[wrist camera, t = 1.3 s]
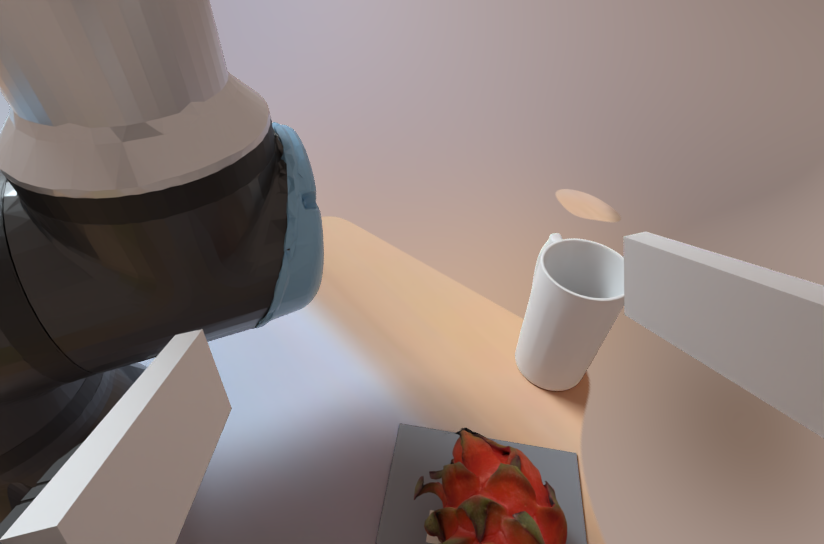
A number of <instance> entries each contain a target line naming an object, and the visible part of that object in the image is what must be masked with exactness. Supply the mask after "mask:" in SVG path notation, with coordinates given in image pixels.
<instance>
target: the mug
mask: <svg viewBox="0 0 824 544" xmlns="http://www.w3.org/2000/svg"><path fill="white" fill-rule="evenodd" d="M623 306H624V257H623V256H621V255H620V254H619V253H617V252H616V251H614V250H613V249H611V248H609V247H607V246H605V245H602V244H600V243H597V242H593V241H589V240H584V239H562V237H561V235H560V234H558V233H554V234H551V235H550V237H549V240H548V241H547V242H546V243H545V245H544V246H543V248H542V249H541V251H540V254H539V256H538V259H537V263H536V267H535V271H534V277H533V285H532V291H531V295H530V299H529V303H528V306H527V310H526V313H525V317H524V321H523V324H522V328H521V332H520V336H519V340H518V344H517V348H516V352H515V360H516V364H517V366H518V369H519V370H520V372H521V373H522V374H523V376H524V377H525V378H526V379H527V380H529V381H530V382H531V383H533V384H534V385H536V386H538V387H540V388H543V389H546V390H551V391H564V390H568V389H570V388H572V387H574V386H576V385H577V384H578V383H579V382H580V380H581V379H582V377H583V376H584V374H585V372H586V371H587V369H588V367H589V366H590V364H591V362H592V361H593V359H594V357H595V355H596V354H597V352H598V350H599V348H600V346H601V345H602V343H603V341H604V340H605V338H606V336H607V334H608V333H609V331H610V329H611V327H612V325H613V324H614V322H615V320H616V319H617V317H618V315H619V313H620V312H621V310H622V308H623Z"/></svg>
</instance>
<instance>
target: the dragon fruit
mask: <svg viewBox="0 0 824 544" xmlns="http://www.w3.org/2000/svg"><path fill="white" fill-rule="evenodd" d="M449 433H450V432H449ZM449 433H448V434H449ZM445 434H446V433H445ZM450 434H451V433H450ZM455 434H458V435H460V437H459V438H458V439H457V441H456V443H455V445H454V448H453V452H452V454H453V457H454V459H452V460H451V463H450V464H448V465H444V466H443V470H440V471H429V475H430V478H431V479H435V480H437V479H440V478H442V484H441V483H439V482H430V483H427V484H425V485H423V483H424V476H421V477H420V478H419V480H418V482H417V484H416V487H415V492H414V500H415V499H416V498H417V497H418V496H420V495H422V494H424V493H428V492H429V493H434V494H436V495H437V496H438V497H439V498H440V499H441V500H442V503H443V509H438V510H435V511H433V512H432V513H431V514H430V515H429V517H428V518H427V519H426V520H425V522H424V528H425V531H426V532H427V534H428V535H430V536H433V537H435V536H437V537H438V540H439V541H440V542H441V544H566V540H567V521H566V518H565V515H564V512H563V511H562V509H561V507H560V505H559V504H558V501H557V499H556V495H555V490H554V489H553V488H552V487H551V486H550V485H549V483H548V482H547V481H545V483H546V484H545V485H543V483H542V479H541V475H540V472H539V470H538V469H537V468H536V467H535V466H534V465H533V464H532V462H531V461H530V460H529V459H528V457H527V456H526V455H525V454H524V453H523V452H522V451H520V450H518V449H516V448H513V447H511V446H503V445H500V444H498V443H496V442H495V441H493V440H491V439H488V438H486V437H484V436H482V435H480V434H478V433H476V432H472V431H471V430H469V429H467V428H462V430H461V431H459V432H457V433H455Z"/></svg>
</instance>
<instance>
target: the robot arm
mask: <svg viewBox="0 0 824 544" xmlns="http://www.w3.org/2000/svg"><path fill="white" fill-rule="evenodd" d="M0 91H1V93H2V94H3V96H4V97H5V99H6V101H7V102H8V104H9V105H10V111H9V114H8V116H7V118H6V120H5V122H4V125H3V127H2V129H1V131H0V544H176V542H177V539H178V537H179V535H180V532H181V530H182V527H183V525H184V523H185V520H186V518H187V515H188V513H189V510H190V508H191V506H192V503H193V501H194V498H195V496H196V493H197V491H198V489H199V486H200V484H201V481H202V479H203V477H204V474H205V472H206V469H207V467H208V464H209V462H210V460H211V457H212V455H213V452H214V450H215V448H216V445H217V443H218V440H219V438H220V435H221V433H222V431H223V428H224V426H225V423H226V421H227V418H228V416H229V414H230V411H231V409H232V408H231V405H230V402H229V400H228V397H227V394H226V392H225V389H224V386H223V383H222V381H221V378H220V375H219V373H218V370H217V367H216V365H215V362H214V359H213V356H212V354H211V351H210V348H209V346H208V343H207V342H208V341H211V340H215V339H218V338H222V337H225V336H228V335H232V334H235V333H238V332H242V331H245V330H249V329H254V328H259V327H262V326H264V325H265V324H267V323H268V322H269V321H271V320H273V319H276V318H279V317H281V316H284V315H286V314H289V313H292V312H294V311H297V310H300V309H302V308H303V307H305V306H306V305H308V304H309V303H310V302H311V301H312V300H313V298H314V297H315V295H316V294H317V292H318V290H319V287H320V284H321V280H322V274H323V264H324V245H323V229H322V220H321V214H320V210H319V208H318V206H317V204H316V187H315V180H314V176H313V172H312V168H311V165H310V162H309V159H308V156H307V153H306V150H305V148H304V146H303V144H302V142H301V140H300V138H299V136H298V135H297V133H296V132H295V131H294V130H293V129H292V128H290V127H288V126H286V125H280V124H278V123H275V122H273V123H272V121H271V117H270V112H269V108H268V105H267V103H266V101H265V100H264V98H262V97H261V96H260V95H259V94H258V93H257V92H256V91H254V90H253V89H251V88H250V87H249V86H247V85H246V84H244V83H243V82H241V81H240V80H238V79H237V78H236V77H234V76H233V75H231V74H230V73H229V72H228V71H227V67H226V63H225V59H224V55H223V51H222V48H221V44H220V40H219V36H218V32H217V28H216V24H215V21H214V17H213V13H212V9H211V5H210V2H209V0H0ZM623 240H624V306H625V315H626V316H628V317H629V318H631V319H632V320H634V321H636V322H637V323H639V324H641V325H642V326H644V327H645V328H647V329H649V330H650V331H652V332H653V333H655V334H657V335H658V336H660V337H662V338H663V339H665V340H666V341H668V342H669V343H671V344H673V345H674V346H676V347H678V348H679V349H681V350H682V351H684V352H686V353H687V354H689V355H690V356H692V357H694V358H695V359H697V360H698V361H700V362H702V363H703V364H705V365H707V366H708V367H710V368H711V369H713V370H715V371H716V372H718V373H720V374H721V375H723V376H724V377H726V378H727V379H729V380H731V381H732V382H734V383H736V384H737V385H739V386H740V387H742V388H744V389H745V390H747V391H749V392H750V393H752V394H753V395H755V396H757V397H758V398H760V399H761V400H763V401H765V402H766V403H768V404H769V405H771V406H773V407H774V408H776V409H778V410H779V411H781V412H782V413H784V414H786V415H787V416H789V417H790V418H792V419H794V420H795V421H797V422H799V423H800V424H802V425H803V426H805V427H806V428H808V429H810V430H811V431H813V432H815V433H816V434H818V435H820V436H821V437H823V438H824V286H823V285H820V284H817V283H814V282H810V281H807V280H804V279H800V278H797V277H794V276H790V275H787V274H784V273H780V272H777V271H774V270H771V269H767V268H764V267H761V266H757V265H754V264H751V263H748V262H744V261H741V260H738V259H734V258H731V257H728V256H724V255H721V254H718V253H715V252H711V251H708V250H704V249H701V248H698V247H695V246H692V245H688V244H685V243H681V242H678V241H675V240H672V239H668V238H665V237H662V236H659V235H655V234H652V233H648V232H642V233H637V234H633V235H628V236H624V237H623ZM154 357H156V358H155V359H154V360H153V362H152V363H151V364H150V365H149V366H148V367H146V366H144V365H142V364H140V363H138V362H141V361H144V360H147V359H151V358H154Z"/></svg>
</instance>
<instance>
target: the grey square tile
mask: <svg viewBox="0 0 824 544" xmlns="http://www.w3.org/2000/svg"><path fill="white" fill-rule="evenodd" d="M445 433H446V434H445ZM448 433H449V432H448V431H442V430H436V429H430V428H424V427H418V426H412V425H406V424H400V425H399V430H398V435H397V440H396V445H395V450H394V455H393V460H392V465H391V470H390V475H389V480H388V485H387V490H386V495H385V500H384V505H383V510H382V515H381V519H380V524H379V529H378V534H377V539H376V544H441V542H440V541H439V540H438V537H437V536H435V537H433V536H430V535H428V534H427V532H426V531H425V528H424V522H425V520H426V519H427V518H428V517H429V515H430V514H431V513H432V512H433V511H435V510H438V509H443V503H442V500H441V499H440V498H439V497H438V496H437V495H436V494H434V493H429V492H428V493H424V494H422V495H420V496H418V497H417V498H416V499H415V500H414V492H415V487H416V484H417V482H418V480H419V478H420V477H421V476H424V483H423V485H425V484H427V483H430V482H439V483H441V484H442V478H440V479H437V480H435V479H431V478H430V475H429V471H440V470H443V466H444V465H448V464H450V463H451V460H452V459H454V457H453V454H452V452H453V448H454V445H455V443H456V441H457V439H458V438H459V437H460V435H458V434H455V433H454V432H450V433H451V434H450V433H449V434H448ZM488 439H489V438H488ZM491 440H493V441H495V442H496V443H498V444H500V445H503V446H511V447H513V448H516V449H518V450H520V451H522V452H523V453H524V454H525V455H526V456H527V457H528V459H529V460H530V461H531V462H532V464H533V465H534V466H535V467H536V468H537V469H538V470H539V472H540V475H541V479H542V483H543V485H545V484H546V483H545V481H547V482H548V483H549V485H550V486H551V487H552V488H553V489H554V490H555V495H556V499H557V501H558V504H559V505H560V507H561V509H562V511H563V512H564V515H565V518H566V521H567V540H566V544H587V541H586V532H585V524H584V515H583V507H582V498H581V490H580V481H579V472H578V464H577V455H576V453H572V452H567V451H561V450H555V449H549V448H543V447H537V446H531V445H525V444H519V443H513V442H507V441H501V440H495V439H491Z"/></svg>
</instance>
